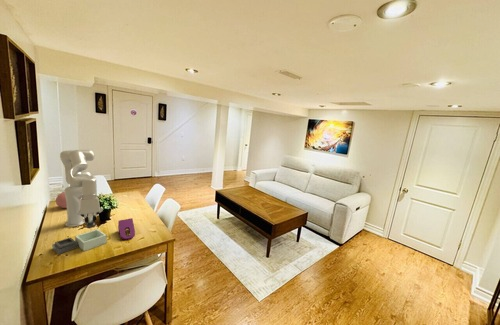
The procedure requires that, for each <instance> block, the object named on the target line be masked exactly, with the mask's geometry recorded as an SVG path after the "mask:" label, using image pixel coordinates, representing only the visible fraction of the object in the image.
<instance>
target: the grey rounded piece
mask: <svg viewBox="0 0 500 325" xmlns="http://www.w3.org/2000/svg"><path fill="white" fill-rule="evenodd" d="M85 226H86V229H91V228H94V227H96V221H95V222H94V213H90V214H87V224H86V223H85Z"/></svg>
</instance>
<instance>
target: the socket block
mask: <svg viewBox="0 0 500 325" xmlns="http://www.w3.org/2000/svg"><path fill="white" fill-rule="evenodd" d="M51 246H52V248H51V249H52V250H53V251H54V252H55V253H56V254H57V255H61V254H64V253H67V252H70V251H72V250H75V249H79V247H78V243H77V242H76V241H75V239H74V238H72V237H71V236H70V237H68V238H64V239H61V240H58V241H55V242H54V243H52V245H51Z"/></svg>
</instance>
